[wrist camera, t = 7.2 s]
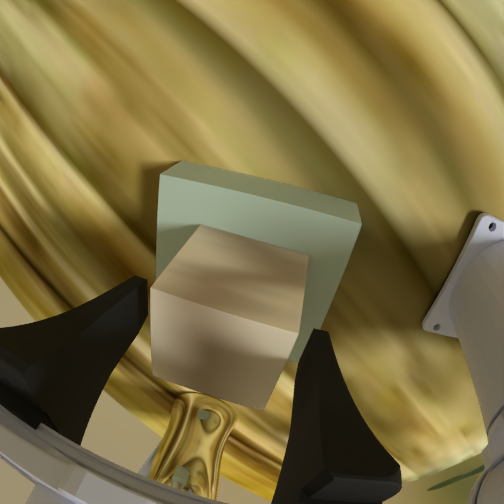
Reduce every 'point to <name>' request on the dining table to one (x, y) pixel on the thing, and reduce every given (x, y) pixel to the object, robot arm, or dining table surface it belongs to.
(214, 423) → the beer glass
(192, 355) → the ash cube
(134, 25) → the dining table surface
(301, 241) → the green slab
